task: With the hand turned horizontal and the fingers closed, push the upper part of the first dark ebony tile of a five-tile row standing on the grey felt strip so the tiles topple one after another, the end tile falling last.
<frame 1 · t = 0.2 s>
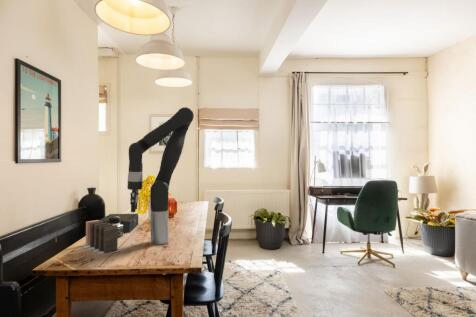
hand: (134, 210, 160), 17 cm above the table, tool pointing down, fingers open, 8 cm apart
tile 1: (110, 251, 144), point 1 cm above the table, touching felt strip
cash box: (119, 229, 194), on the table
tile 5: (92, 244, 156), point 1 cm above the table, touching felt strip
tile 4: (96, 245, 153), point 1 cm above the table, touching felt strip
felt strip: (101, 248, 150), on the table
tile 2: (105, 249, 147), point 1 cm above the table, touching felt strip
medicine bottle: (114, 238, 171), on the table
tile 3: (101, 247, 150), point 1 cm above the table, touching felt strip
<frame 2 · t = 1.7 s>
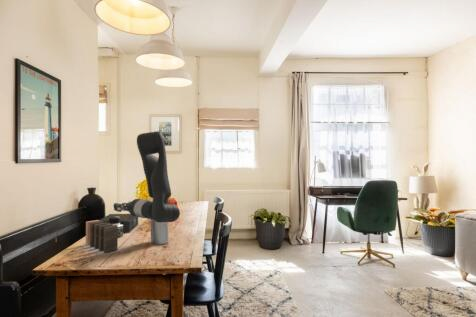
hand: (122, 204, 137), 24 cm above the table, tool horizontal, fingers open, 6 cm apart
nothing on the table moved.
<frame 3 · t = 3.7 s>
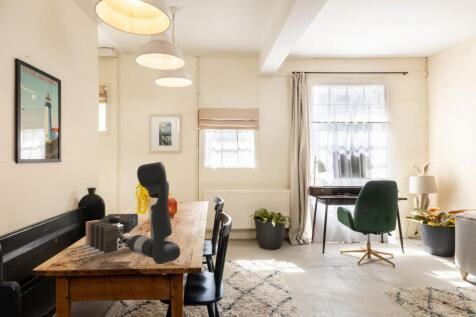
hand: (121, 238, 137), 9 cm above the table, tool horizontal, fingers closed
nothing on the table moved.
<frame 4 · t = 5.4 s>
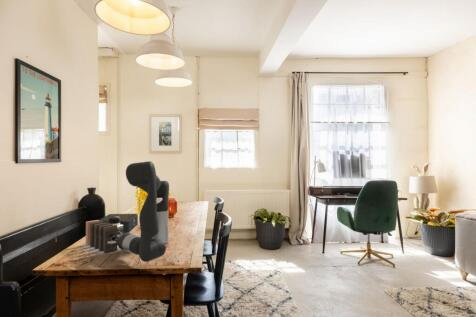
hand: (111, 236, 143), 8 cm above the table, tool horizontal, fingers closed
tile 1: (110, 251, 144), point 1 cm above the table, touching felt strip, gripper
everything else where it was.
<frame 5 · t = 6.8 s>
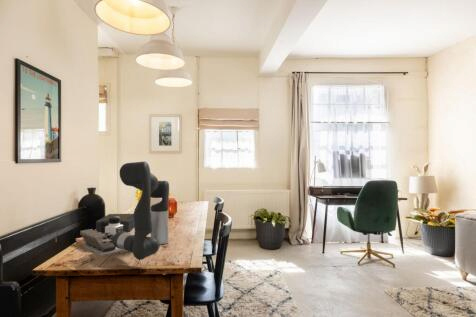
hand: (106, 234, 146), 8 cm above the table, tool horizontal, fingers closed
tile 1: (109, 249, 144), point 1 cm above the table, tilted 68°, touching felt strip, tile 2
tile 5: (91, 241, 157), point 2 cm above the table, tilted 93°, touching felt strip, tile 4
tile 4: (95, 243, 154), point 2 cm above the table, tilted 68°, touching tile 3, tile 5
tile 2: (104, 247, 148), point 1 cm above the table, tilted 68°, touching felt strip, tile 1, tile 3
tile 3: (99, 245, 151), point 1 cm above the table, tilted 68°, touching felt strip, tile 2, tile 4
everything else where it was.
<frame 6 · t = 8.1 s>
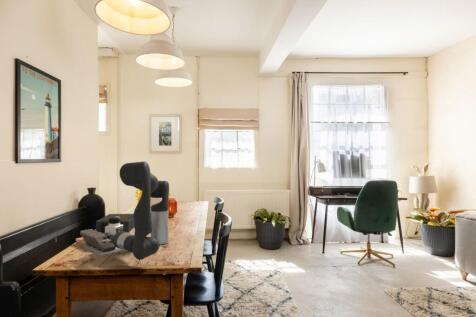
hand: (106, 234, 146), 8 cm above the table, tool horizontal, fingers closed
nothing on the table moved.
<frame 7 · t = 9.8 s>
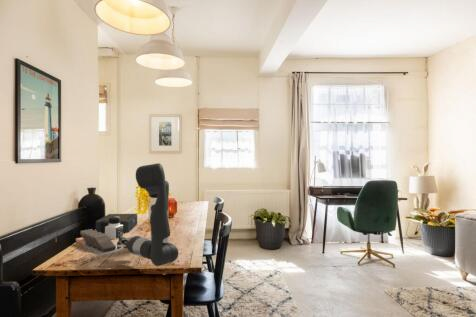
hand: (120, 239, 138), 8 cm above the table, tool horizontal, fingers closed
nothing on the table moved.
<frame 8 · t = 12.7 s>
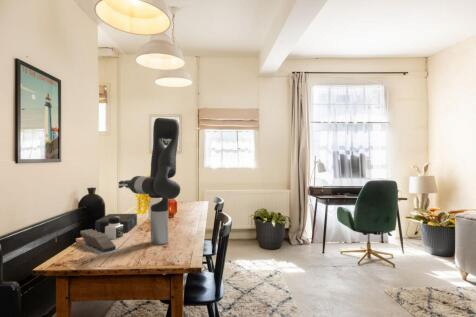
hand: (121, 183, 137), 34 cm above the table, tool horizontal, fingers closed
at the end: tile 5 tilted 93°; tile 1 tilted 68° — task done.
